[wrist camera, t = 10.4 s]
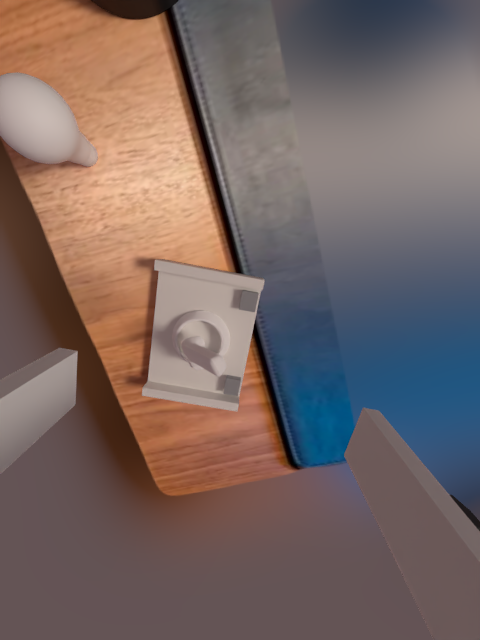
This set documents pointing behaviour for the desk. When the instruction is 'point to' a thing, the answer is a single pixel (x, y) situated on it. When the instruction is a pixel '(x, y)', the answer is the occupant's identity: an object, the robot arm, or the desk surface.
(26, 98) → the lightbulb
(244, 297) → the panel
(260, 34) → the desk surface
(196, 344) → the hook
